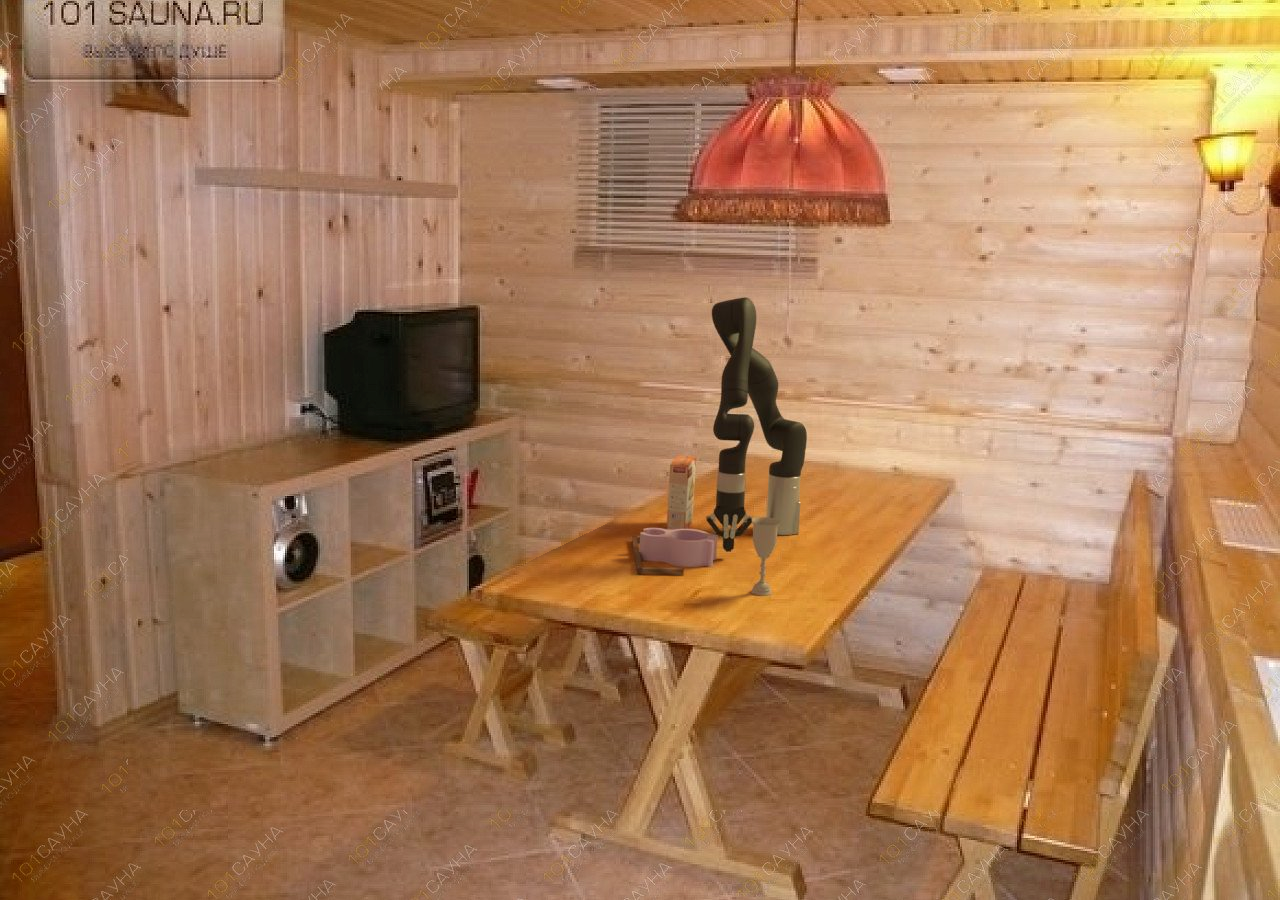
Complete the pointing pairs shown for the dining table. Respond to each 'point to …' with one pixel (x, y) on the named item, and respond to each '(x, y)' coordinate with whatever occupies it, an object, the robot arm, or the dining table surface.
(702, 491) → the dining table surface
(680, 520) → the cracker box
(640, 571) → the walnut frame
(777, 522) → the chalice
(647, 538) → the clip
